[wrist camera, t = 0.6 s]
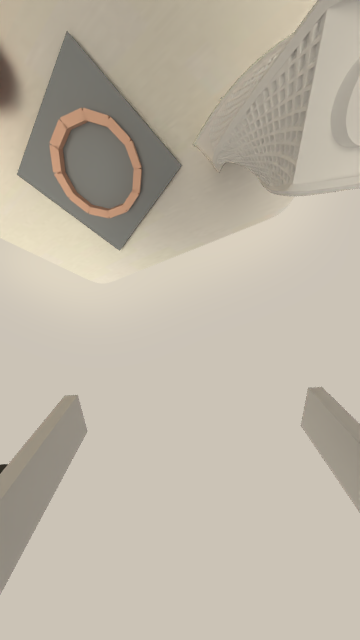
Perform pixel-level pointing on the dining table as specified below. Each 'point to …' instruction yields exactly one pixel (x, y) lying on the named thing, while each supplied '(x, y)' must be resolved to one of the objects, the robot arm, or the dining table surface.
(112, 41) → the dining table surface
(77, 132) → the dock
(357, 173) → the skyscraper
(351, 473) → the robot arm
